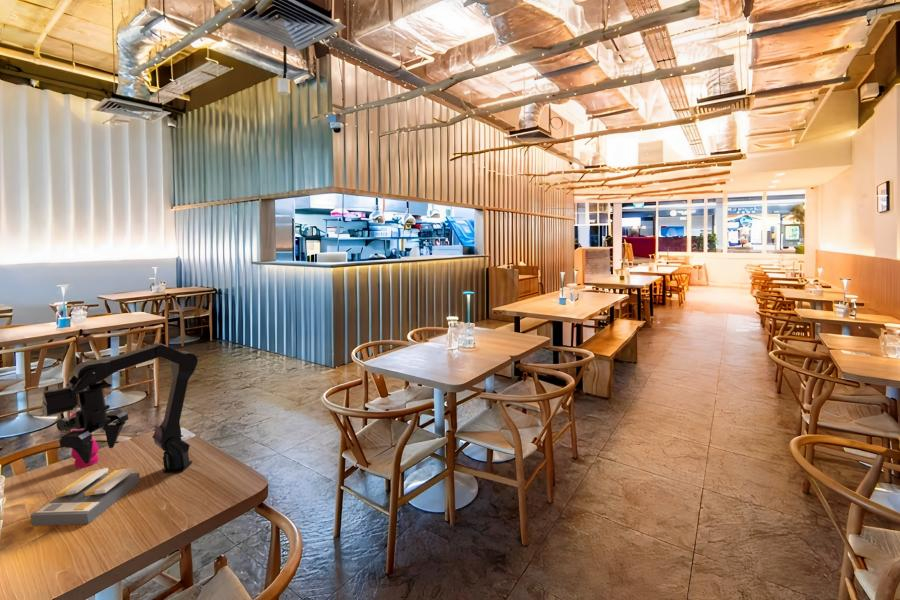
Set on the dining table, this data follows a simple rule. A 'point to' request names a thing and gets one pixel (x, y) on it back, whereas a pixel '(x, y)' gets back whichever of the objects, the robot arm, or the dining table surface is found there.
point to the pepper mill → (94, 456)
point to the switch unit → (82, 504)
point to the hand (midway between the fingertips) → (99, 455)
